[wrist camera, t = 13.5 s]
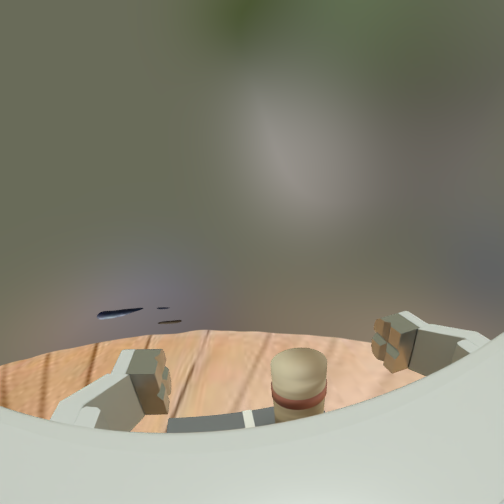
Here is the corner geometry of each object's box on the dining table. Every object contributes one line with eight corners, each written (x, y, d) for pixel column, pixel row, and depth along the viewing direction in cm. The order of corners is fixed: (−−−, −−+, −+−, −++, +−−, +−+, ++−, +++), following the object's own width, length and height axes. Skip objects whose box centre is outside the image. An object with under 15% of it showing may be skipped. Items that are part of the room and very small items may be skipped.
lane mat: (163, 507, 17) (159, 503, 16) (170, 423, 30) (168, 417, 30) (357, 476, 19) (359, 472, 19) (316, 401, 33) (316, 396, 32)
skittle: (281, 462, 22) (276, 386, 20) (271, 431, 27) (264, 352, 25) (327, 451, 23) (337, 371, 20) (313, 421, 28) (316, 342, 25)
